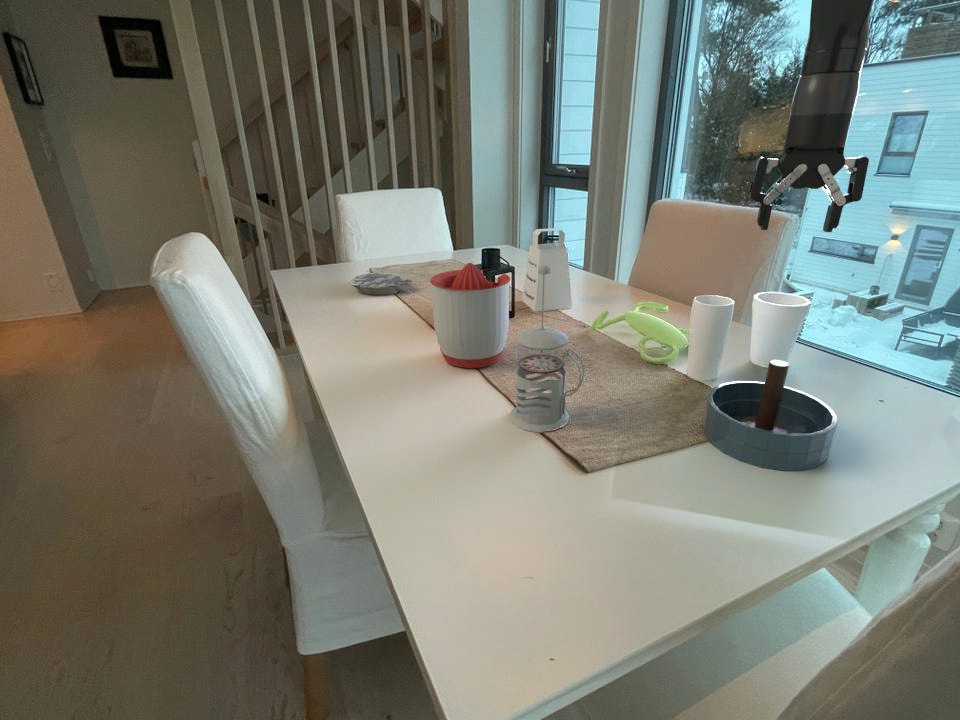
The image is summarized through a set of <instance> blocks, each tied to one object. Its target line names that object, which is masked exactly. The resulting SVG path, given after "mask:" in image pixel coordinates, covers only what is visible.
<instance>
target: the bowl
mask: <svg viewBox="0 0 960 720" xmlns="http://www.w3.org/2000/svg"><path fill="white" fill-rule="evenodd" d="M764 383H765V381H764V382H763V381H753V380H735V381H728V382H724V383H720V384H718V385H716V386H714V387H712V388H711V390H710V391H709V393H708V394H707V397H706V403H705V408H704V415H703V420H702V433H703V435H704V437H705V438H706V440H707V441H708V442H709V443H710V444H711V445H712V446H713V447H715V448H716V449H717V450H718V451H720V452H721V453H723V454H725V455H726V456H729V457H731V458H733V459H735V460H737V461H740V462H741V463H746V464H749V465H751V466H755V467H759V468H762V469H768V470H774V471H780V472H781V471H782V472H783V471H784V472H786V471H787V472H788V471H790V472H792V471H794V472H795V471H797V472H798V471H807V470H811V469H815V468H818V467H820V465H822V464H823V463H824V462H826V461H827V459H828V456H829V453H830V449H831V446H832V444H833V443H832V442H833V439H834V436H835V433H836V429H837V426H838V416H837V414H836V413H835V411H834V410H833V409H832V408H831V407H830V406H829V405H828V404H826V403H825V402H824V401H822V400H821V399H819V398H817V397H815V396H813V395H810V394H809V393H807V392H804V391H802V390H798V389H795V388H792V387H790V386H785V385H784V388H783V392H782V396H781V401H780V405H779V409H778V413H777V417H776V420H777V421H779V422H781V423H783V424H784V425H785V426H786V427H787V429H788V433H781V432H773V431H768V430H764V429H760V428H756V427H753V426H749V425H747V424H745V423H742V420H743V419H744V418H745V417H748V416H757V414H758V410H759V406H760V401H761V397H762V392H763V388H764Z"/></svg>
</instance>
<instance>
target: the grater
mask: <svg viewBox="0 0 960 720" xmlns="http://www.w3.org/2000/svg"><path fill="white" fill-rule="evenodd" d="M553 231H556V232H557V231H558V243H557V242H550V243H539V235H540V234H541V233H542V232H553ZM565 235H566V234H565V232H564V231H563V230H562V229H560V228H557V227H550V228H549V227H547V228H536V229H535V230H534V231H533V232H532V244H529V250H528V256H527V263H526V270H525V276H524V283H523V290H522V296H521V297H522V298H521V302H523V303H524V304H525V305H526V306H527V307H528V308H530V309H531V310H532V311H534V313H538V312H542V295H543V274H538V267H540V266H541V265H547V266H548V267H549V268H550V270H551V271H550V274H545V277H544V309H543V312H547V311H556V310H565V309H572V308H573V303H572V302H573V300H572V291H571V279H570V266H569V265H570V264H569V253H568V247H566V246H565V240H566V239H565V238H566V236H565Z"/></svg>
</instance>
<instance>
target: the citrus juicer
mask: <svg viewBox="0 0 960 720" xmlns="http://www.w3.org/2000/svg"><path fill="white" fill-rule="evenodd" d="M510 281H511V276H509V275H508V274H506V273H502V274H501V275H500V276H498V277H497V281H496V282H495V281H489V280H488V279H487V278H486V276H485V275H484V272H483V269H479V268H478V266H476V265H475V264H474V263H472V262H467V263H466V264H465V265H464V266H463V267H462V268H461V269H455V270H449V271H448V270H447V271H444V272H440V273H437V274H435V275H433V276H432V277H431V278H430V281H429V282H430V284H431V295H432V296H431V297H432V311H433V312H432V313H433V324H434V332H435V336H436V341H437V343H438V345H439V350H440V353H441V356H442V357H443V359H444V361H445V362H447V363H448V364H450V365H452V366H455V367H459V368H467V369H472V370H473V369H474V370H475V369H479V368H483V367H488V366H490V365H493V364H495V363H497V362H498V361H499V360H500V359H501V357H502V354H503V352H504V350H505V344H506V342H507V338H508V332H509V325H510V324H509V323H510Z"/></svg>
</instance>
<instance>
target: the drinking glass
mask: <svg viewBox="0 0 960 720" xmlns="http://www.w3.org/2000/svg"><path fill="white" fill-rule="evenodd" d="M734 309H735V301H734V300H733V299H731V298H730V297H726V296H721V295H715V294H702V295H697V296H695V297H694V298H693V301H692V305H691V311H690V315H689V316H690V317H689V327H688V330H689V334H688V342H689V344H688V346H687V347H688V349H687V362H686V363H687V364H686V373H685V374H686V376H688V377H689V378H691V379H693V380H697V381H702V382H703V381H704V382H710V381H715V380H716V379H717V378H718V375H719V374H718V373H719V368H720V364H721V361H722V359H723V354H724V350H725V347H726V344H727V339H728V336H729V333H730V329H731V327H732V326H731V325H732V320H733V316H734Z"/></svg>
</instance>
